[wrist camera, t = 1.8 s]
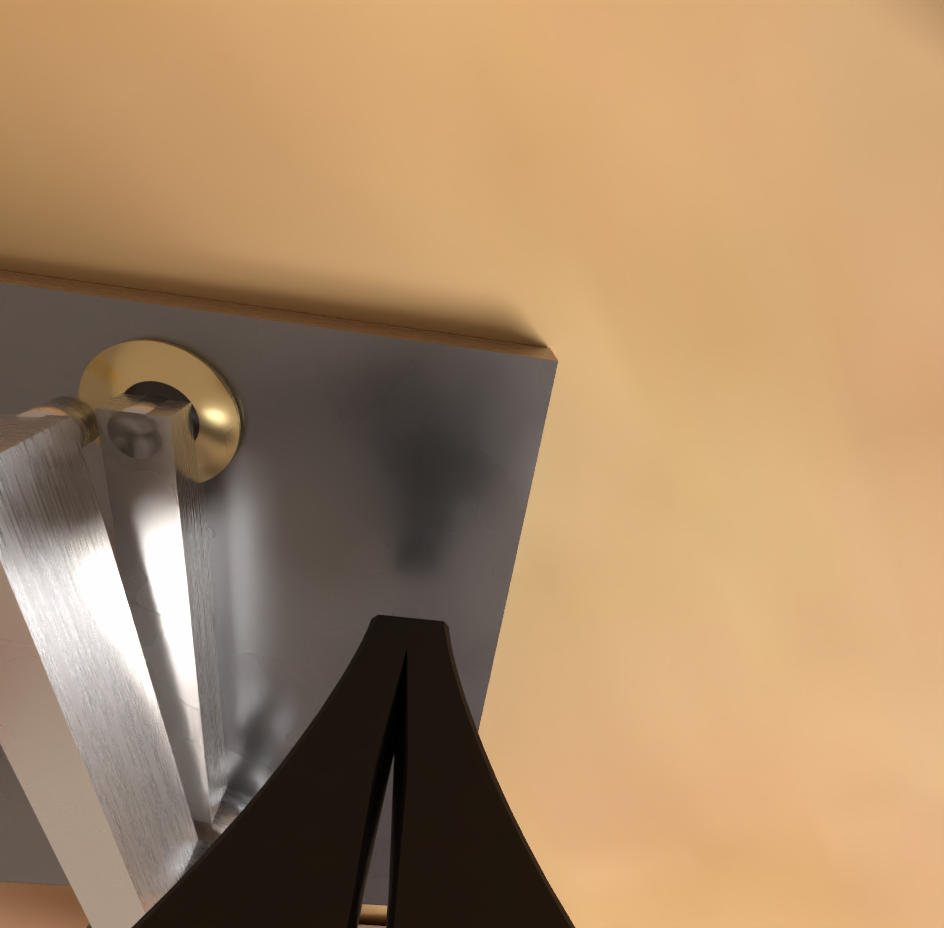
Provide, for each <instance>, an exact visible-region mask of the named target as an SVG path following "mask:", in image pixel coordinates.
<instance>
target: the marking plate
mask: <svg viewBox="0 0 944 928" xmlns="http://www.w3.org/2000/svg"><path fill="white" fill-rule="evenodd" d="M557 364H558V360H557V358H556V357H555V355H554V354H553V352H552V351H551V349H550V348H546V347H539V346H532V345H525V344H518V343H511V342H504V341H497V340H490V339H483V338H476V337H469V336H462V335H454V334H447V333H440V332H433V331H426V330H419V329H412V328H405V327H398V326H391V325H384V324H377V323H370V322H363V321H356V320H349V319H342V318H335V317H328V316H321V315H314V314H307V313H300V312H293V311H286V310H279V309H272V308H265V307H258V306H251V305H244V304H237V303H230V302H223V301H216V300H209V299H201V298H194V297H187V296H180V295H173V294H166V293H159V292H152V291H145V290H138V289H131V288H124V287H117V286H110V285H103V284H96V283H89V282H82V281H75V280H68V279H61V278H54V277H47V276H40V275H33V274H26V273H19V272H12V271H5V270H0V414H21V413H23V412H25V411H28V410H30V409H32V408H34V407H36V406H39V405H41V404H43V403H45V402H47V401H50V400H52V399H54V398H56V397H59V396H72V397H76V398H79V399H81V400H83V401H84V402H86V403H87V404H89V405H90V406H91V407H92V408H93V409H94V410H95V414H96V420H97V426H98V432H99V436H98V438H97V439H96V440H95V441H93V442H92V443H90V444H88V445H87V446H85V447H83V448H82V451H83V454H84V458H85V461H86V464H87V468H88V471H89V474H90V478H91V481H92V484H93V488H94V491H95V494H96V498H97V501H98V505H99V508H100V511H101V515H102V518H103V521H104V525H105V528H106V531H107V535H108V538H109V541H110V545H111V548H112V551H113V555H114V558H115V562H116V565H117V568H118V572H119V575H120V578H121V582H122V585H123V588H124V592H125V595H126V598H127V602H128V605H129V609H130V612H131V615H132V619H133V622H134V625H135V629H136V632H137V635H138V639H139V642H140V645H141V649H142V652H143V655H144V659H145V662H146V666H147V669H148V672H149V676H150V679H151V682H152V686H153V689H154V692H155V696H156V699H157V702H158V706H159V709H160V712H161V716H162V719H163V723H164V726H165V729H166V733H167V736H168V739H169V743H170V746H171V749H172V753H173V756H174V759H175V763H176V766H177V770H178V773H179V776H180V780H181V783H182V786H183V790H184V793H185V796H186V800H187V803H188V806H189V810H190V813H191V816H192V820H193V823H194V827H195V830H196V833H197V837H198V839H199V840H203V841H206V842H209V843H211V844H213V843H214V842H215V840H216V839H217V838H218V837H219V836H220V835H221V834H222V833H223V832H224V830H225V829H226V828H227V827H228V826H229V825H230V824H231V823H232V822H233V820H234V819H235V818H236V817H237V816H238V815H239V814H240V812H241V811H242V810H243V809H244V808H245V807H246V805H247V804H248V803H249V802H250V801H251V799H252V798H253V797H254V796H255V795H256V793H257V792H258V791H259V790H260V789H261V788H262V786H263V785H264V784H265V783H266V781H267V780H268V779H269V778H270V776H271V775H272V774H273V773H274V771H275V770H276V769H277V768H278V766H279V765H280V764H281V762H282V761H283V760H284V759H285V757H286V756H287V755H288V753H289V752H290V751H291V749H292V748H293V747H294V745H295V744H296V742H297V741H298V740H299V738H300V737H301V736H302V734H303V733H304V731H305V730H306V729H307V727H308V726H309V725H310V723H311V722H312V720H313V719H314V718H315V716H316V715H317V714H318V712H319V711H320V709H321V708H322V706H323V705H324V703H325V702H326V700H327V698H328V697H329V695H330V694H331V692H332V691H333V689H334V688H335V686H336V684H337V683H338V681H339V680H340V678H341V677H342V675H343V674H344V672H345V670H346V668H347V667H348V665H349V663H350V662H351V660H352V658H353V656H354V655H355V653H356V651H357V649H358V647H359V645H360V643H361V641H362V639H363V637H364V635H365V633H366V631H367V629H368V626H369V624H370V621H371V619H372V618H373V617H375V616H376V615H388V616H398V617H408V618H417V619H427V620H437V621H444V622H445V623H446V624H447V625H448V626H449V632H450V639H451V645H452V650H453V655H454V659H455V663H456V667H457V670H458V674H459V678H460V681H461V685H462V688H463V691H464V694H465V697H466V700H467V703H468V706H469V709H470V712H471V715H472V718H473V720H474V723H475V726H476V729H477V732H478V730H479V725H480V720H481V716H482V711H483V706H484V702H485V697H486V693H487V688H488V683H489V679H490V674H491V669H492V665H493V660H494V656H495V651H496V646H497V642H498V637H499V632H500V628H501V623H502V618H503V614H504V609H505V605H506V600H507V595H508V591H509V586H510V581H511V577H512V572H513V567H514V563H515V558H516V554H517V549H518V544H519V540H520V535H521V530H522V526H523V521H524V517H525V512H526V507H527V503H528V498H529V493H530V489H531V484H532V479H533V475H534V470H535V466H536V461H537V456H538V452H539V447H540V442H541V438H542V433H543V429H544V424H545V419H546V415H547V410H548V405H549V401H550V396H551V391H552V387H553V382H554V378H555V373H556V368H557ZM393 767H394V757H393V761H392V766H391V771H390V775H389V780H388V784H387V789H386V794H385V798H384V803H383V808H382V812H381V817H380V821H379V826H378V831H377V835H376V840H375V845H374V849H373V854H372V858H371V863H370V868H369V872H368V877H367V881H366V886H365V891H364V896H363V901H362V904H370V905H386V906H388V893H389V868H390V842H391V817H392V792H393ZM0 882H13V883H29V884H46V885H62V886H71V885H70V883H69V881H68V879H67V877H66V875H65V873H64V871H63V869H62V867H61V865H60V863H59V861H58V859H57V857H56V855H55V853H54V851H53V849H52V847H51V844H50V842H49V840H48V838H47V836H46V834H45V832H44V830H43V828H42V826H41V824H40V822H39V820H38V818H37V816H36V814H35V812H34V810H33V808H32V806H31V804H30V802H29V800H28V798H27V796H26V794H25V792H24V790H23V788H22V786H21V784H20V782H19V780H18V778H17V776H16V774H15V772H14V770H13V768H12V766H11V764H10V762H9V760H8V758H7V756H6V754H5V752H4V750H3V748H2V746H1V744H0Z"/></svg>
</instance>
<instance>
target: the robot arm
mask: <svg viewBox="0 0 944 928" xmlns="http://www.w3.org/2000/svg"><path fill="white" fill-rule="evenodd" d="M393 757H394V767H393V792H392V817H391V842H390V868H389V893H388V908H387V921H386V926H375V925H358V923H359V917H360V912H361V907H362V901H363V896H364V891H365V886H366V881H367V877H368V872H369V868H370V863H371V858H372V854H373V849H374V845H375V840H376V835H377V831H378V826H379V821H380V817H381V812H382V808H383V803H384V798H385V794H386V789H387V784H388V780H389V775H390V771H391V766H392V761H393ZM131 928H575V926H574V925H573V923H572V921H571V920H570V918H569V916H568V915H567V913H566V911H565V910H564V908H563V906H562V904H561V903H560V901H559V899H558V898H557V896H556V894H555V893H554V891H553V889H552V888H551V886H550V884H549V882H548V881H547V879H546V877H545V875H544V873H543V871H542V870H541V868H540V866H539V864H538V862H537V860H536V858H535V856H534V855H533V853H532V851H531V849H530V847H529V845H528V843H527V841H526V839H525V837H524V835H523V833H522V831H521V829H520V827H519V825H518V823H517V821H516V819H515V817H514V815H513V813H512V811H511V809H510V807H509V805H508V803H507V801H506V798H505V796H504V794H503V792H502V790H501V787H500V785H499V783H498V781H497V778H496V776H495V774H494V771H493V769H492V767H491V764H490V762H489V759H488V757H487V755H486V752H485V750H484V747H483V745H482V742H481V740H480V737H479V734H478V732H477V729H476V726H475V723H474V720H473V718H472V715H471V712H470V709H469V706H468V703H467V700H466V697H465V694H464V691H463V688H462V685H461V681H460V678H459V674H458V670H457V667H456V663H455V659H454V655H453V650H452V645H451V639H450V632H449V626H448V625H447V624H446V623H445V622H444V621H437V620H427V619H417V618H408V617H398V616H388V615H376V616H375V617H373V618H372V619H371V621H370V624H369V626H368V629H367V631H366V633H365V635H364V637H363V639H362V641H361V643H360V645H359V647H358V649H357V651H356V653H355V655H354V656H353V658H352V660H351V662H350V663H349V665H348V667H347V668H346V670H345V672H344V674H343V675H342V677H341V678H340V680H339V681H338V683H337V684H336V686H335V688H334V689H333V691H332V692H331V694H330V695H329V697H328V698H327V700H326V702H325V703H324V705H323V706H322V708H321V709H320V711H319V712H318V714H317V715H316V716H315V718H314V719H313V720H312V722H311V723H310V725H309V726H308V727H307V729H306V730H305V731H304V733H303V734H302V736H301V737H300V738H299V740H298V741H297V742H296V744H295V745H294V747H293V748H292V749H291V751H290V752H289V753H288V755H287V756H286V757H285V759H284V760H283V761H282V762H281V764H280V765H279V766H278V768H277V769H276V770H275V771H274V773H273V774H272V775H271V776H270V778H269V779H268V780H267V781H266V783H265V784H264V785H263V786H262V788H261V789H260V790H259V791H258V792H257V793H256V795H255V796H254V797H253V798H252V799H251V801H250V802H249V803H248V804H247V805H246V807H245V808H244V809H243V810H242V811H241V812H240V814H239V815H238V816H237V817H236V818H235V819H234V820H233V822H232V823H231V824H230V825H229V826H228V827H227V828H226V829H225V830H224V832H223V833H222V834H221V835H220V836H219V837H218V838H217V839H216V840H215V842H214V843H213V844H212V845H211V846H210V847H209V848H208V849H207V850H206V852H205V853H204V854H203V855H202V856H201V857H200V858H199V859H198V860H197V861H196V862H195V864H194V865H193V866H192V867H191V868H190V869H189V870H188V871H187V872H186V873H185V874H184V875H183V876H182V877H181V878H180V879H179V880H178V882H177V883H176V884H175V885H174V886H173V887H172V888H171V889H170V890H169V891H168V892H167V893H166V894H165V895H164V896H163V897H162V898H161V899H160V900H159V901H158V902H157V903H156V904H155V905H154V906H153V907H152V908H151V909H150V910H149V911H148V912H147V913H146V914H145V915H144V916H143V917H142V918H141V919H140V920H139V921H138V922H137V923H136V924H135V925H134V926H132V927H131Z"/></svg>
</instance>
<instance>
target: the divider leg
mask: <svg viewBox="0 0 944 928" xmlns="http://www.w3.org/2000/svg"><path fill="white" fill-rule="evenodd" d="M98 436H99V432H98V426H97V420H96V414H95V410H94V409H93V408H92V407H91V406H90V405H89V404H87V403H86V402H84V401H83V400H81V399H79V398H76V397H72V396H59V397H56V398H54V399H52V400H50V401H47V402H45V403H43V404H41V405H39V406H36V407H34V408H32V409H30V410H28V411H25V412H23V413H21V414H0V744H1V746H2V748H3V750H4V752H5V754H6V756H7V758H8V760H9V762H10V764H11V766H12V768H13V770H14V772H15V774H16V776H17V778H18V780H19V782H20V784H21V786H22V788H23V790H24V792H25V794H26V796H27V798H28V800H29V802H30V804H31V806H32V808H33V810H34V812H35V814H36V816H37V818H38V820H39V822H40V824H41V826H42V828H43V830H44V832H45V834H46V836H47V838H48V840H49V842H50V844H51V847H52V849H53V851H54V853H55V855H56V857H57V859H58V861H59V863H60V865H61V867H62V869H63V871H64V873H65V875H66V877H67V879H68V881H69V883H70V885H71V887H72V889H73V891H74V893H75V895H76V897H77V899H78V901H79V903H80V905H81V907H82V909H83V911H84V913H85V915H86V917H87V919H88V921H89V924H88V926H87V928H131V927H132V926H134V925H135V924H136V923H137V922H138V921H139V920H140V919H141V918H142V917H143V916H144V915H145V914H146V913H147V912H148V911H149V910H150V909H151V908H152V907H153V906H154V905H155V904H156V903H157V902H158V901H159V900H160V899H161V898H162V897H163V896H164V895H165V894H166V893H167V892H168V891H169V890H170V889H171V888H172V887H173V886H174V885H175V884H176V883H177V882H178V880H179V879H180V878H181V877H182V876H183V875H184V874H185V873H186V872H187V871H188V870H189V869H190V868H191V867H192V866H193V865H194V864H195V862H196V861H197V860H198V859H199V858H200V857H201V856H202V855H203V854H204V853H205V852H206V850H207V849H208V848H209V847H210V846H211V845H212V844H211V843H209V842H206V841H203V840H199V839H198V837H197V833H196V830H195V827H194V823H193V820H192V816H191V813H190V810H189V806H188V803H187V800H186V796H185V793H184V790H183V786H182V783H181V780H180V776H179V773H178V770H177V766H176V763H175V759H174V756H173V753H172V749H171V746H170V743H169V739H168V736H167V733H166V729H165V726H164V723H163V719H162V716H161V712H160V709H159V706H158V702H157V699H156V696H155V692H154V689H153V686H152V682H151V679H150V676H149V672H148V669H147V666H146V662H145V659H144V655H143V652H142V649H141V645H140V642H139V639H138V635H137V632H136V629H135V625H134V622H133V619H132V615H131V612H130V609H129V605H128V602H127V598H126V595H125V592H124V588H123V585H122V582H121V578H120V575H119V572H118V568H117V565H116V562H115V558H114V555H113V551H112V548H111V545H110V541H109V538H108V535H107V531H106V528H105V525H104V521H103V518H102V515H101V511H100V508H99V505H98V501H97V498H96V494H95V491H94V488H93V484H92V481H91V478H90V474H89V471H88V468H87V464H86V461H85V458H84V454H83V451H82V448H83V447H85V446H87V445H88V444H90V443H92V442H93V441H95V440H96V439H97V438H98Z"/></svg>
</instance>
